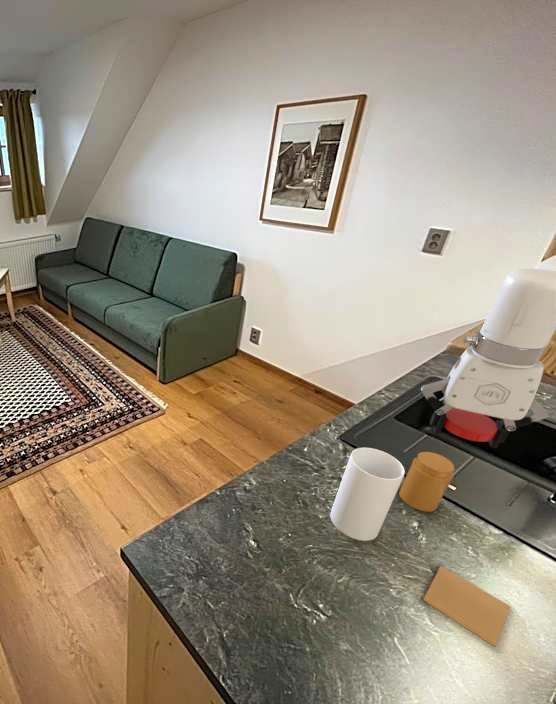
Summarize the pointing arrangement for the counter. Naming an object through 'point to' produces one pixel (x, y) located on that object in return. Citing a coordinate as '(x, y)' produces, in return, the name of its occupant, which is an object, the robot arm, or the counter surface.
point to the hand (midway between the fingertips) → (463, 435)
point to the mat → (467, 605)
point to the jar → (427, 481)
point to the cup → (366, 493)
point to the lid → (470, 425)
